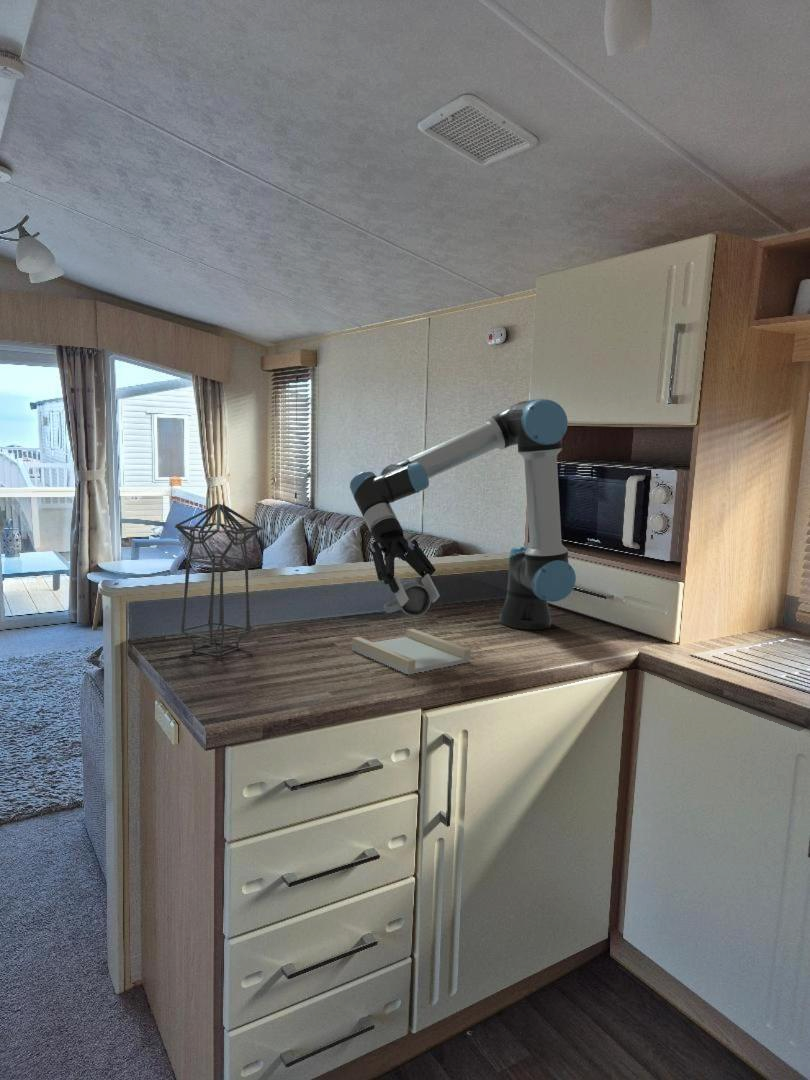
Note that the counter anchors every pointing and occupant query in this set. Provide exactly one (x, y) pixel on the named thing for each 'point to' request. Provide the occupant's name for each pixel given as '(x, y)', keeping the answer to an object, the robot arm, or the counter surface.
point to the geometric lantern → (227, 532)
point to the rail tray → (413, 652)
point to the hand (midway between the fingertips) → (420, 601)
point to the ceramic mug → (411, 600)
